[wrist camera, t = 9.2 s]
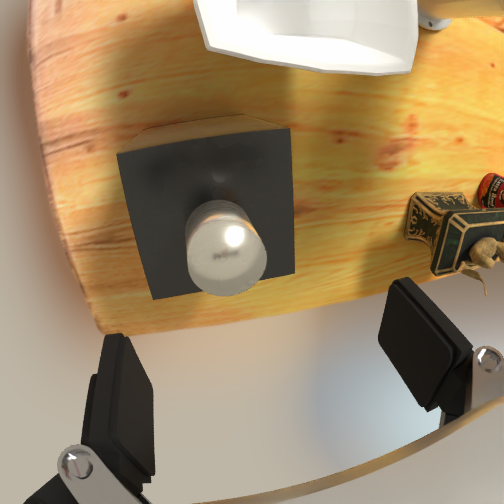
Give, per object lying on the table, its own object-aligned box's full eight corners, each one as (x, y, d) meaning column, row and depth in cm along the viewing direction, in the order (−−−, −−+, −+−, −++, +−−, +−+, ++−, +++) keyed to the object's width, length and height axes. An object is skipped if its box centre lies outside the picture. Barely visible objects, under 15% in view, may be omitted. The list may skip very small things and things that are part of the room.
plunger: (153, 137, 30) (117, 194, 13) (236, 124, 32) (312, 163, 14) (166, 214, 35) (161, 342, 17) (244, 201, 36) (310, 313, 19)
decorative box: (469, 187, 45) (554, 235, 28) (458, 235, 49) (533, 291, 33) (387, 186, 41) (490, 250, 24) (377, 246, 46) (461, 325, 29)
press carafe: (144, 129, 31) (116, 154, 17) (242, 114, 33) (290, 128, 19) (164, 238, 38) (161, 324, 24) (252, 223, 39) (294, 298, 26)
